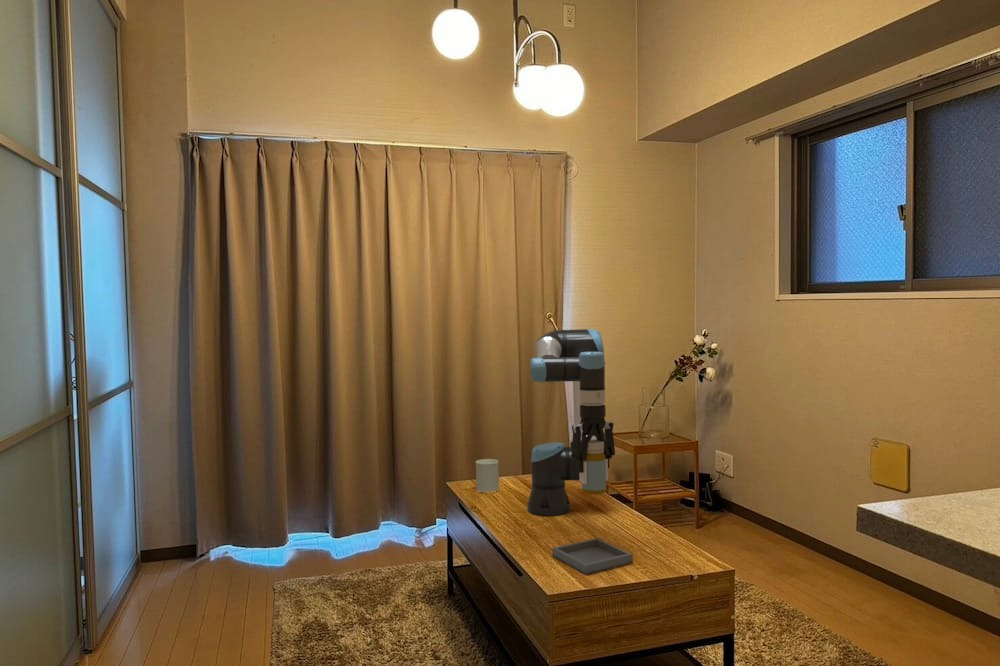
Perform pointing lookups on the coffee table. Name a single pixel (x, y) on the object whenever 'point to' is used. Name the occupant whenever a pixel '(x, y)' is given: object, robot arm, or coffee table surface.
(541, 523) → the coffee table surface
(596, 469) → the bottle
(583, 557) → the tray
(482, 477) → the can
